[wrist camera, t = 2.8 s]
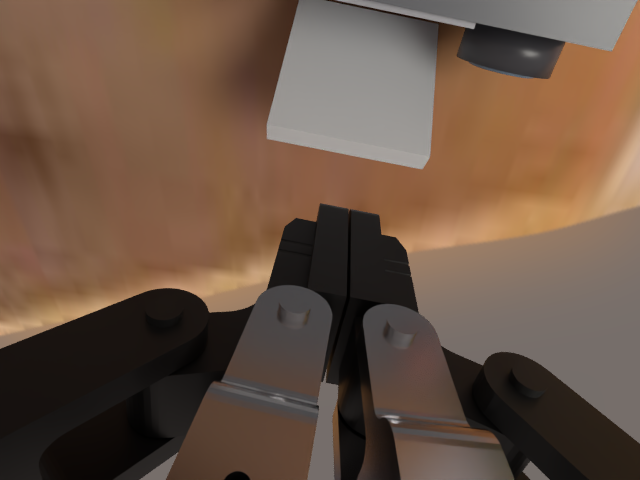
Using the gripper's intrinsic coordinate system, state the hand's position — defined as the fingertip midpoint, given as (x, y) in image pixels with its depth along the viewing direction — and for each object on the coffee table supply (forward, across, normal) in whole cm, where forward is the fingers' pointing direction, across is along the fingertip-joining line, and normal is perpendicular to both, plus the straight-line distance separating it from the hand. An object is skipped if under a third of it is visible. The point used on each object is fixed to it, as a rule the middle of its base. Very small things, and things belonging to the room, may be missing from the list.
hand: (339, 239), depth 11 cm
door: (+15, 0, -4) cm, 16 cm away
